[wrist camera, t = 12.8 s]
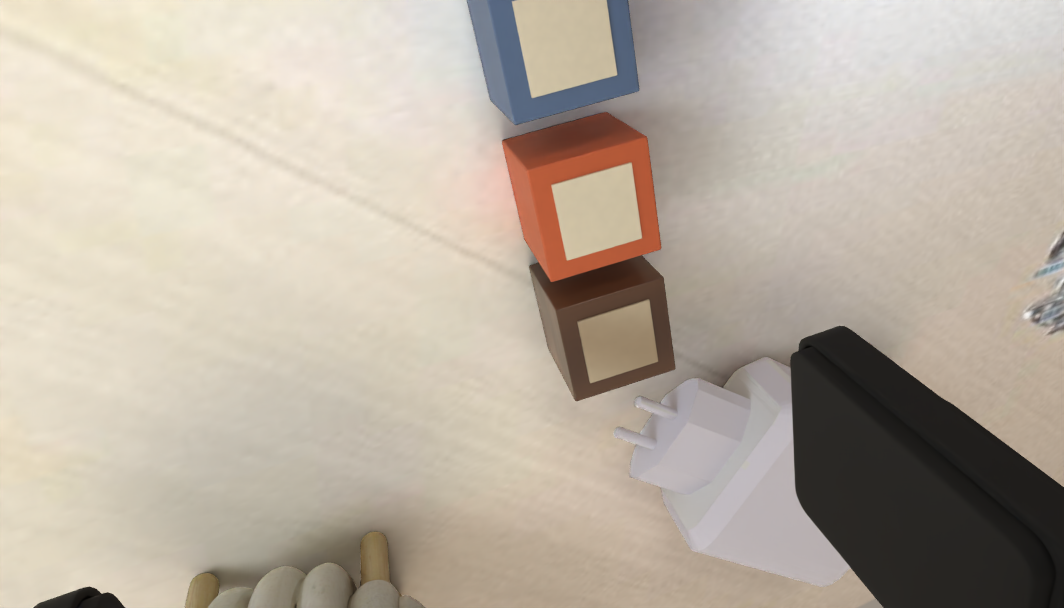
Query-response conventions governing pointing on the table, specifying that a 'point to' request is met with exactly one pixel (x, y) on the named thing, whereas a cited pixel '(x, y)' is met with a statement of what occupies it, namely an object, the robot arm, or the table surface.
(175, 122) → the table surface
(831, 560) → the charger
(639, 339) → the walnut block
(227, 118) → the table surface
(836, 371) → the robot arm
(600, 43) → the slate block
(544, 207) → the terracotta block
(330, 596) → the toy sheep
